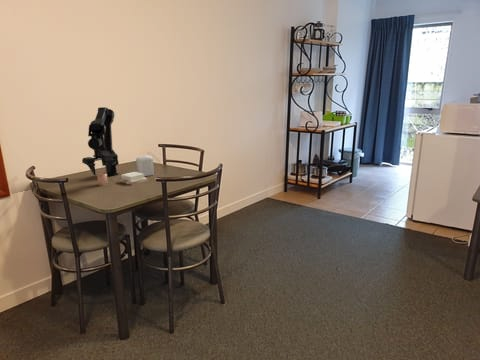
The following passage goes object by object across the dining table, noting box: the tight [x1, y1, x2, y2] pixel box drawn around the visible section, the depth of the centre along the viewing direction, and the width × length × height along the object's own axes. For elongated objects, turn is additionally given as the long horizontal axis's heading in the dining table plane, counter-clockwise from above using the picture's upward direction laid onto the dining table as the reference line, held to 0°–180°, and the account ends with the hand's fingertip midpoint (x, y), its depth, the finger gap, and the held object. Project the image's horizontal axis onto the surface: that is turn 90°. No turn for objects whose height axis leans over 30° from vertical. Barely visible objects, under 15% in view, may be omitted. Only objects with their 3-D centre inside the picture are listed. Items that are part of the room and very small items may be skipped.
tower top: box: [121, 171, 145, 181], centre depth 208 cm, size 9×9×2 cm
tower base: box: [119, 176, 149, 186], centre depth 209 cm, size 11×11×2 cm
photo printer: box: [135, 155, 155, 177], centre depth 220 cm, size 10×4×12 cm, turn 123°
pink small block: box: [97, 172, 109, 187], centre depth 202 cm, size 5×5×6 cm
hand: (102, 173), depth 201 cm, fingers open, 9 cm apart
